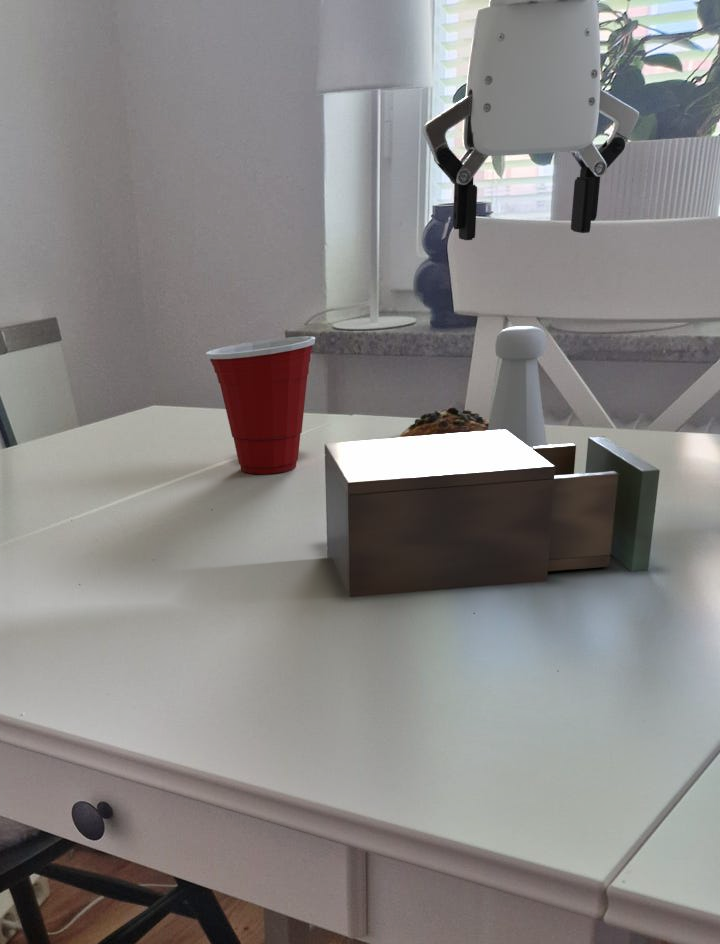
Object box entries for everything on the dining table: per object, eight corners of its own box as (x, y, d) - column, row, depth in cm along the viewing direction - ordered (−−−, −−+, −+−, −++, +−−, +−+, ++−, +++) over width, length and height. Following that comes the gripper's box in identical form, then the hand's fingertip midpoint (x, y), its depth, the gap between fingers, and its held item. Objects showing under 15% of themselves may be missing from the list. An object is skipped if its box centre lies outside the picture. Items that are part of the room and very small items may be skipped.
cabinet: (500, 544, 91) (506, 429, 86) (546, 594, 80) (555, 466, 75) (327, 558, 90) (324, 443, 86) (349, 610, 80) (347, 482, 75)
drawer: (610, 526, 90) (619, 434, 86) (665, 569, 80) (678, 468, 76) (434, 540, 90) (436, 448, 86) (468, 585, 80) (472, 484, 76)
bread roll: (469, 464, 113) (466, 410, 111) (376, 470, 120) (371, 418, 118) (526, 446, 120) (524, 395, 118) (435, 452, 127) (431, 404, 125)
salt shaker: (559, 479, 107) (570, 325, 100) (514, 491, 104) (523, 333, 98) (512, 469, 111) (520, 321, 104) (468, 480, 108) (474, 329, 102)
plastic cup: (253, 452, 125) (246, 331, 119) (339, 460, 119) (337, 333, 113) (192, 475, 118) (182, 347, 112) (281, 484, 112) (275, 350, 106)
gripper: (634, -18, 92) (610, 227, 101) (418, -5, 92) (413, 239, 101) (670, -31, 86) (640, 231, 95) (437, -17, 85) (430, 244, 94)
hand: (523, 235), depth 98 cm, fingers open, 9 cm apart
